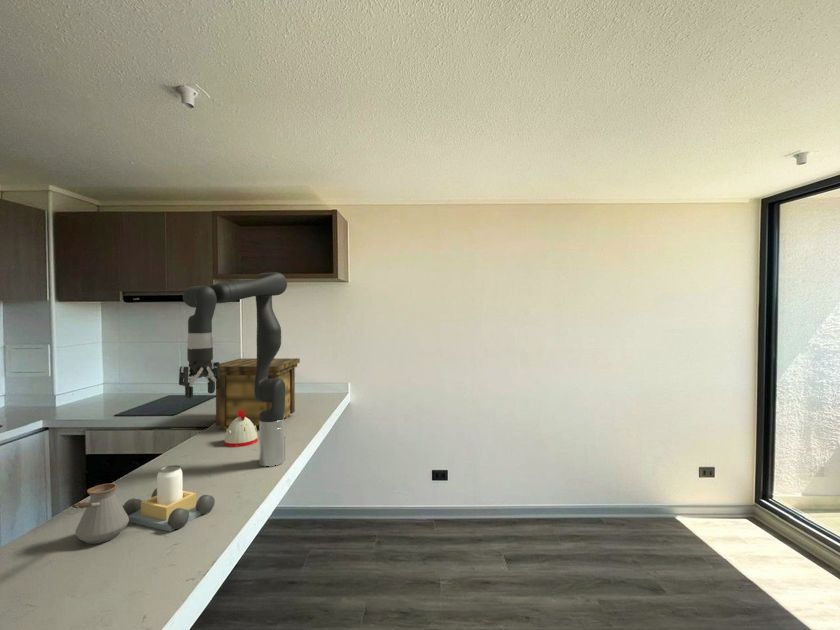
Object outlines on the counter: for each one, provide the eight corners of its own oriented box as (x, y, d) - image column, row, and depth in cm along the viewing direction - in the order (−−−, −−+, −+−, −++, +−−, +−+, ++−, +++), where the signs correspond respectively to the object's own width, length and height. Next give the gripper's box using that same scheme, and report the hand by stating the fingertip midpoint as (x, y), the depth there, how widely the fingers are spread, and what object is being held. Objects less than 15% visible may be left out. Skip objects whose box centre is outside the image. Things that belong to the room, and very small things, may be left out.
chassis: (166, 499, 134) (165, 483, 134) (214, 509, 127) (214, 492, 127) (121, 520, 121) (121, 502, 121) (173, 532, 114) (173, 514, 114)
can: (159, 506, 126) (159, 466, 126) (184, 502, 128) (184, 463, 128) (154, 515, 120) (154, 473, 120) (180, 512, 122) (180, 470, 122)
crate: (209, 431, 210) (208, 366, 210) (240, 414, 245) (240, 358, 245) (278, 431, 209) (278, 366, 209) (300, 414, 244) (299, 358, 244)
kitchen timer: (229, 449, 183) (229, 414, 183) (221, 441, 194) (220, 409, 193) (261, 442, 192) (261, 410, 192) (251, 436, 202) (251, 404, 202)
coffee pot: (88, 528, 116) (87, 474, 116) (135, 522, 119) (135, 469, 119) (42, 574, 96) (41, 509, 96) (101, 566, 99) (100, 503, 99)
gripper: (208, 344, 147) (209, 391, 147) (172, 348, 134) (172, 399, 134) (225, 345, 144) (226, 392, 144) (190, 348, 131) (190, 400, 131)
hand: (200, 395), depth 139 cm, fingers open, 8 cm apart
